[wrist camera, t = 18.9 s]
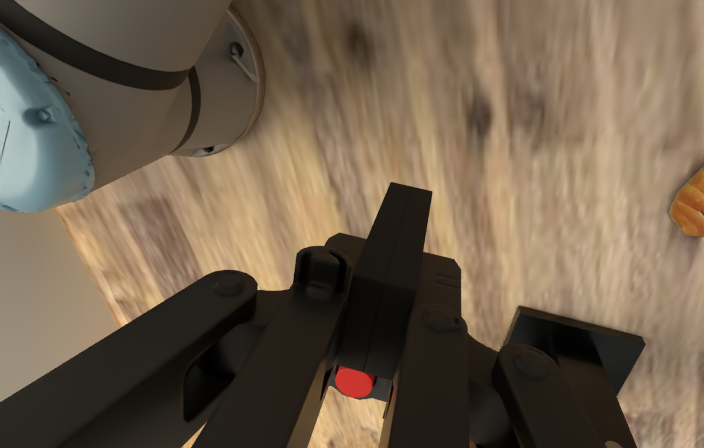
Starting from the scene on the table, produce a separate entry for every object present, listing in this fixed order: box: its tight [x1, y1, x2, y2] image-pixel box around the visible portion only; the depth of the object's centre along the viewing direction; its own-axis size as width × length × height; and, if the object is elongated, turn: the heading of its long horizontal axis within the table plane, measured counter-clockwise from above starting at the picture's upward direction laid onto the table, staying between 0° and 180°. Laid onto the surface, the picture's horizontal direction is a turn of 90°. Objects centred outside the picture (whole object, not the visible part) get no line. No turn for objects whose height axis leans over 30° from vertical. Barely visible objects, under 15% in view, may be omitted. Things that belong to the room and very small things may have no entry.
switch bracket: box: [503, 306, 646, 448], centre depth 41 cm, size 12×9×16 cm
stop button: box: [335, 366, 375, 398], centre depth 49 cm, size 4×4×2 cm
